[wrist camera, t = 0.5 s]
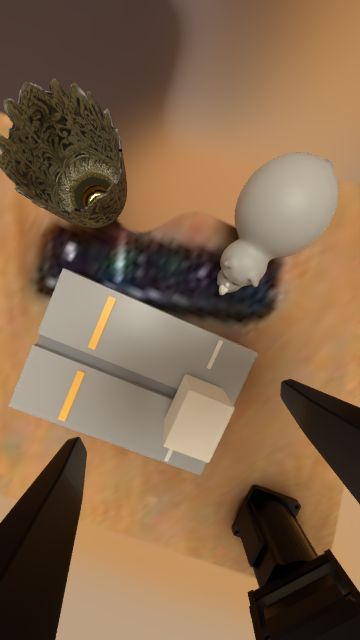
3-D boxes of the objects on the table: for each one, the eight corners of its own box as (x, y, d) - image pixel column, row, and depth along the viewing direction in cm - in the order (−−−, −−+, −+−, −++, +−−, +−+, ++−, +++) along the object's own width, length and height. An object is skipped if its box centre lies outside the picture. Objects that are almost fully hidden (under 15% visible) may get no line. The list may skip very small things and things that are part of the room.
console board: (247, 347, 22) (258, 353, 19) (196, 456, 23) (200, 476, 20) (76, 272, 20) (62, 268, 17) (28, 393, 21) (7, 407, 18)
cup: (123, 257, 20) (94, 229, 12) (53, 228, 20) (-25, 177, 12) (150, 188, 20) (138, 113, 12) (80, 155, 19) (17, 52, 11)
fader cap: (220, 385, 20) (234, 408, 15) (200, 428, 20) (208, 463, 16) (184, 370, 19) (189, 389, 15) (164, 415, 20) (163, 446, 15)
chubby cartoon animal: (193, 265, 23) (182, 280, 16) (264, 156, 18) (298, 99, 11) (241, 298, 24) (254, 328, 16) (323, 202, 19) (396, 179, 11)
